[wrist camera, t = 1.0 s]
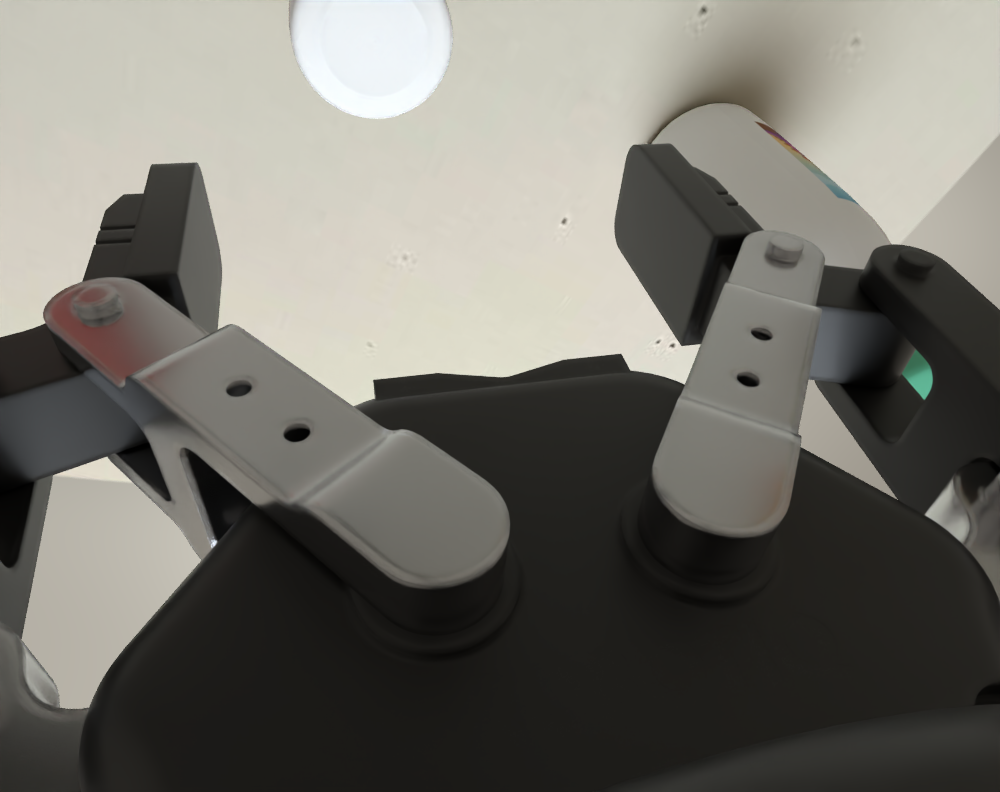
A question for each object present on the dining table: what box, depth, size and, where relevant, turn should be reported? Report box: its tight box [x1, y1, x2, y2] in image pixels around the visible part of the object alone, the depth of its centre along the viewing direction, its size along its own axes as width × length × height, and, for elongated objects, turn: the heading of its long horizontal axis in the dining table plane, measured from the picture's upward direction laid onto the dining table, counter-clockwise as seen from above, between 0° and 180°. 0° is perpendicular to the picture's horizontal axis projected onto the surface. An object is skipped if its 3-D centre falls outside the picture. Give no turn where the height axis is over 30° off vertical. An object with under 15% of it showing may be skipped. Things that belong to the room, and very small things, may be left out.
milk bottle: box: [652, 103, 933, 400], centre depth 34 cm, size 8×8×20 cm
